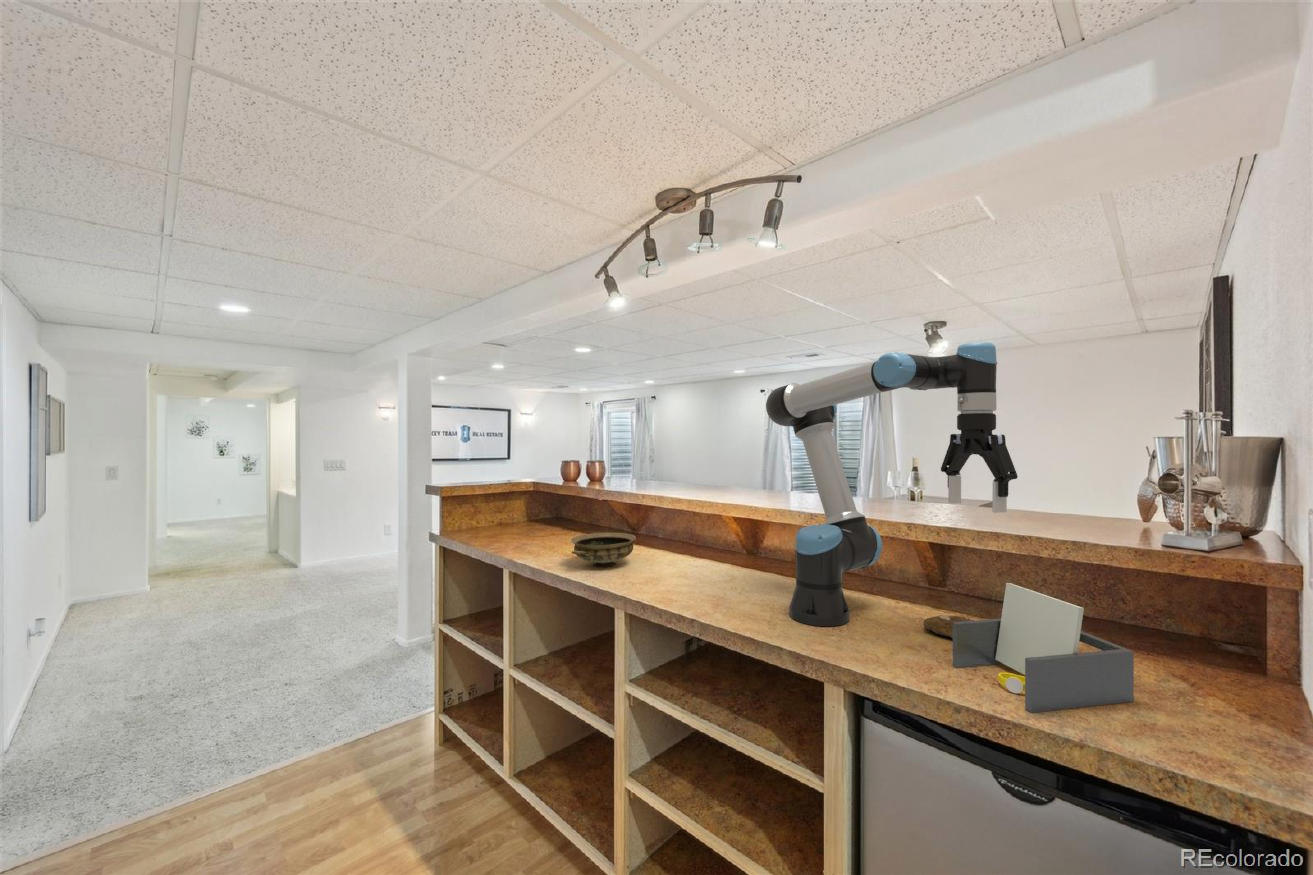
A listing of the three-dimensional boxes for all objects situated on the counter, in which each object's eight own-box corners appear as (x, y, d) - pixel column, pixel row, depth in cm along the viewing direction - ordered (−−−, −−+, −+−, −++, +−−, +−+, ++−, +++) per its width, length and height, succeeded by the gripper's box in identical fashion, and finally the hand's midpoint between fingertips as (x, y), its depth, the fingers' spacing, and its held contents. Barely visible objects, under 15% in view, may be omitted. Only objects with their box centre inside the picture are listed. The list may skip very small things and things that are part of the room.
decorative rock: (1002, 639, 126) (933, 625, 136) (1001, 621, 126) (933, 609, 137) (989, 650, 118) (918, 635, 128) (989, 631, 118) (917, 618, 129)
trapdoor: (999, 659, 111) (995, 659, 111) (1010, 583, 111) (1006, 582, 111) (1071, 697, 95) (1066, 697, 95) (1083, 608, 95) (1079, 607, 95)
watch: (1001, 681, 105) (994, 687, 101) (1001, 666, 105) (994, 672, 101) (1038, 691, 101) (1032, 698, 97) (1038, 676, 101) (1032, 682, 97)
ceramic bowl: (609, 553, 217) (608, 528, 217) (654, 561, 202) (654, 535, 202) (551, 568, 194) (550, 540, 194) (597, 579, 179) (597, 549, 179)
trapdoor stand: (952, 665, 111) (952, 622, 111) (1040, 657, 114) (1040, 615, 114) (1031, 712, 92) (1031, 660, 92) (1133, 701, 95) (1133, 651, 95)
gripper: (925, 414, 131) (924, 500, 132) (1005, 410, 107) (1004, 517, 107) (952, 414, 132) (952, 499, 133) (1038, 410, 108) (1037, 515, 108)
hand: (975, 507), depth 120 cm, fingers open, 13 cm apart
